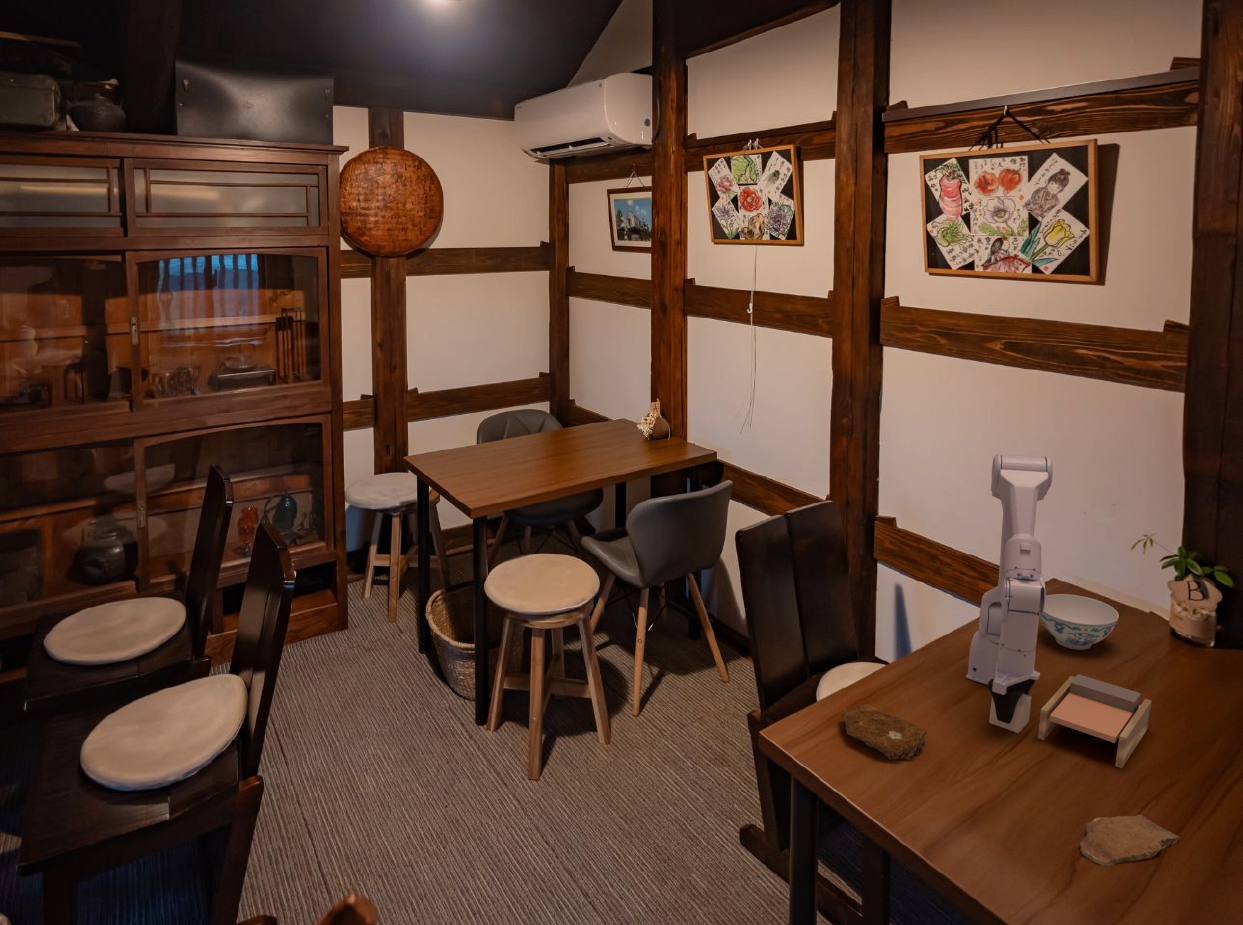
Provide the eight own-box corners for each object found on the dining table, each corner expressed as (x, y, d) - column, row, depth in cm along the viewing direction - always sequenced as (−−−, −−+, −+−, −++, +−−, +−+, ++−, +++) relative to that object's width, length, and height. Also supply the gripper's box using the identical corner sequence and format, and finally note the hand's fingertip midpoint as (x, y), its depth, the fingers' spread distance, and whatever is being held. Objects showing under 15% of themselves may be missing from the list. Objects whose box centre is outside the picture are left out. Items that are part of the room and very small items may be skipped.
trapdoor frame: (1037, 738, 149) (1041, 709, 147) (1067, 703, 160) (1070, 675, 158) (1121, 768, 140) (1126, 738, 139) (1147, 729, 151) (1151, 700, 150)
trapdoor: (1049, 720, 147) (1051, 704, 146) (1076, 689, 157) (1078, 674, 156) (1114, 743, 140) (1117, 726, 139) (1138, 708, 150) (1140, 693, 149)
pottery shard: (1119, 890, 117) (1182, 842, 124) (1120, 874, 116) (1184, 827, 123) (1061, 853, 124) (1125, 810, 131) (1062, 838, 123) (1126, 795, 130)
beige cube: (989, 722, 154) (991, 697, 153) (1000, 711, 157) (1002, 686, 156) (1018, 733, 150) (1021, 707, 149) (1028, 721, 154) (1031, 696, 153)
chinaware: (1041, 621, 193) (1045, 588, 191) (1118, 637, 185) (1122, 604, 183) (1027, 647, 181) (1031, 613, 179) (1108, 666, 173) (1113, 630, 171)
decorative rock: (822, 738, 151) (902, 776, 141) (823, 717, 150) (904, 755, 140) (855, 709, 159) (934, 743, 149) (857, 689, 157) (936, 723, 147)
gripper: (1026, 666, 142) (1018, 740, 146) (1056, 637, 152) (1047, 706, 156) (983, 653, 147) (976, 725, 150) (1014, 625, 157) (1007, 693, 161)
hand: (1009, 714), depth 153 cm, fingers closed on beige cube, 5 cm apart
